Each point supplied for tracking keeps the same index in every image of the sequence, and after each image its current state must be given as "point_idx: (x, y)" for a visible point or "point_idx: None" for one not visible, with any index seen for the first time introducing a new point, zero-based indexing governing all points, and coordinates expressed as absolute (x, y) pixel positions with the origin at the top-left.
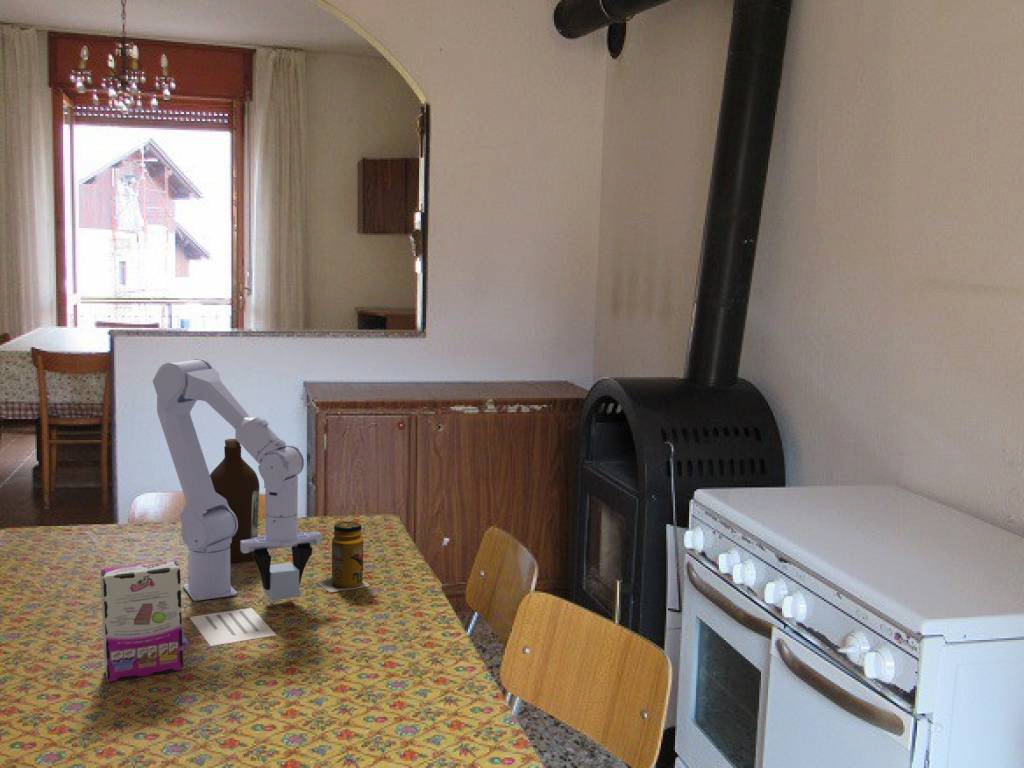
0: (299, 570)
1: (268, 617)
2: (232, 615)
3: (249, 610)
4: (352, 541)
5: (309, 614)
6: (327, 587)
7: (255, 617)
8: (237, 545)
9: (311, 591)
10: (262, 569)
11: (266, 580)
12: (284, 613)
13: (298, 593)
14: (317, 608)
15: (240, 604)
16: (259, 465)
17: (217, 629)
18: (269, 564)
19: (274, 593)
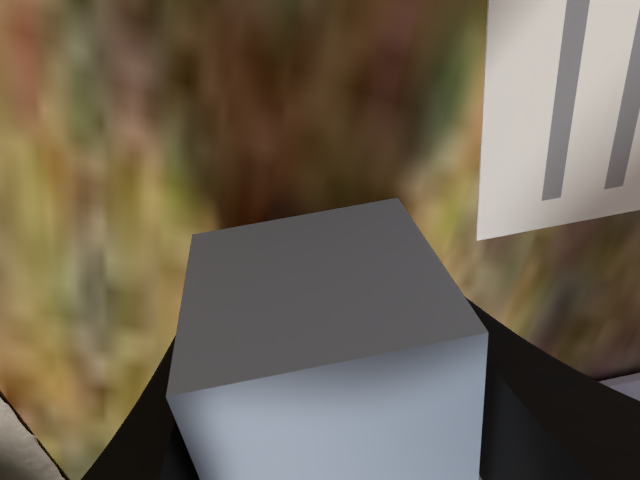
0: (163, 422)
1: (434, 40)
2: (618, 140)
3: (501, 201)
4: None
5: (127, 7)
6: (13, 448)
7: (515, 60)
8: None
9: (110, 412)
10: (603, 385)
11: (485, 319)
12: (313, 91)
13: (196, 245)
14: (62, 129)
15: (507, 302)
16: None
17: None
18: (565, 434)
19: (394, 226)
